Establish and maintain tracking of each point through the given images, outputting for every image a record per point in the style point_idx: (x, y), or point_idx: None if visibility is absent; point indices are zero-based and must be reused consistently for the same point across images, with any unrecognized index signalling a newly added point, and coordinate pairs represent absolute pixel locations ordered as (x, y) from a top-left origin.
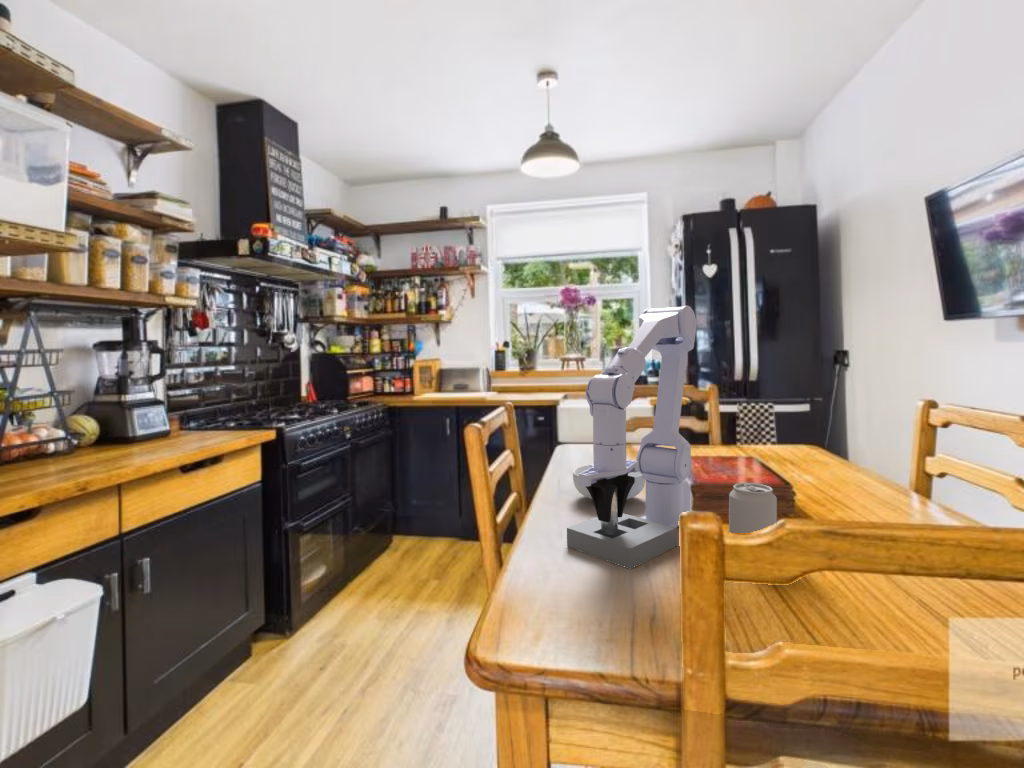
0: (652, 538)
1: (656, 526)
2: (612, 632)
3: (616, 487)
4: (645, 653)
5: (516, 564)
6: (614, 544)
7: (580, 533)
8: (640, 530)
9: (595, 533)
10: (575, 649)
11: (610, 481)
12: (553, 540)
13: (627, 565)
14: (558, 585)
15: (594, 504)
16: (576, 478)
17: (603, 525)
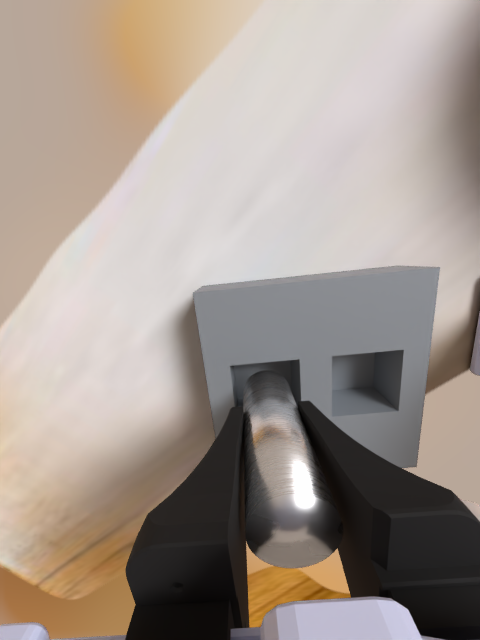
0: None
1: (389, 436)
2: (66, 536)
3: (325, 554)
4: (73, 574)
5: (41, 293)
6: None
7: (201, 345)
8: None
9: (228, 376)
10: (4, 535)
11: (359, 533)
12: (201, 227)
13: None
14: (73, 414)
15: (215, 441)
16: None
17: (243, 405)
